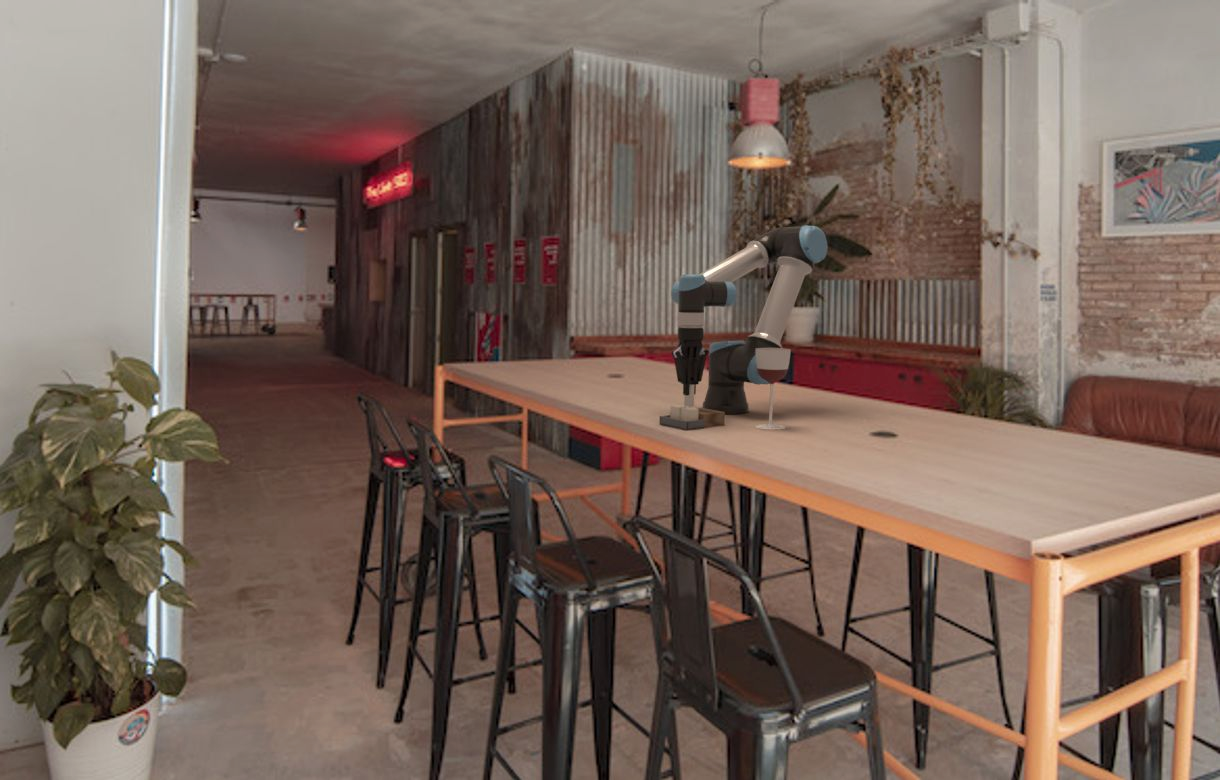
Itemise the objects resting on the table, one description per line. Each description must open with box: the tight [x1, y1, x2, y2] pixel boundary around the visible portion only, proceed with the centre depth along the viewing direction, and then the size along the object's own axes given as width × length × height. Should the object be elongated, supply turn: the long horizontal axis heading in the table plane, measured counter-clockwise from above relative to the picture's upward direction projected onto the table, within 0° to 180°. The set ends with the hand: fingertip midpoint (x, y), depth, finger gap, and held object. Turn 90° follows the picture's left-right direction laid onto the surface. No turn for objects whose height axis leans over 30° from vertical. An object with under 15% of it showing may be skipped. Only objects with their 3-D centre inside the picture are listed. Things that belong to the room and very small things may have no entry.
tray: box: [659, 414, 706, 431], centre depth 248 cm, size 7×12×3 cm, turn 37°
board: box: [695, 406, 726, 429], centre depth 252 cm, size 8×11×4 cm
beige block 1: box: [669, 404, 688, 420], centre depth 250 cm, size 5×4×3 cm
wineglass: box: [755, 347, 792, 430], centre depth 247 cm, size 9×10×23 cm
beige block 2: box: [681, 406, 699, 421], centre depth 246 cm, size 5×4×3 cm
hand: (689, 405), depth 252 cm, fingers closed
